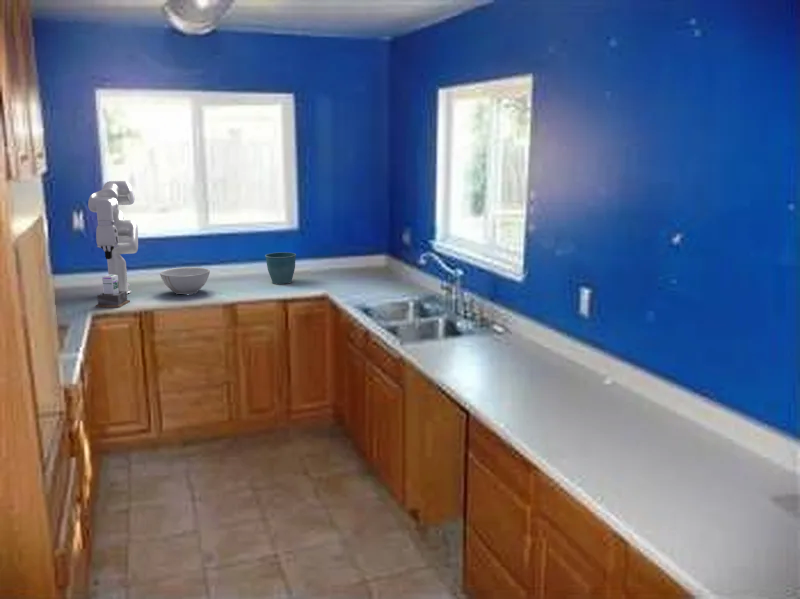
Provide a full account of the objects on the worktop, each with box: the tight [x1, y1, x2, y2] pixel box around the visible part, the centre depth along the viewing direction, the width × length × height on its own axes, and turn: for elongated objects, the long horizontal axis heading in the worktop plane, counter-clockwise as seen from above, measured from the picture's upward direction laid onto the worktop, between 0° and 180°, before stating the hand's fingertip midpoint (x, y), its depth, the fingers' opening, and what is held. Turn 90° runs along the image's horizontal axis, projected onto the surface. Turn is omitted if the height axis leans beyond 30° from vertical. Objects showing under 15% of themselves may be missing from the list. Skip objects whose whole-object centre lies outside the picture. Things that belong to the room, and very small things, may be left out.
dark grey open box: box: [95, 291, 131, 309], centre depth 377 cm, size 13×13×6 cm
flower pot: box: [264, 251, 297, 285], centre depth 432 cm, size 18×18×17 cm
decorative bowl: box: [159, 266, 211, 295], centre depth 404 cm, size 27×27×12 cm
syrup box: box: [101, 274, 120, 295], centre depth 376 cm, size 6×6×14 cm
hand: (108, 258), depth 372 cm, fingers closed
